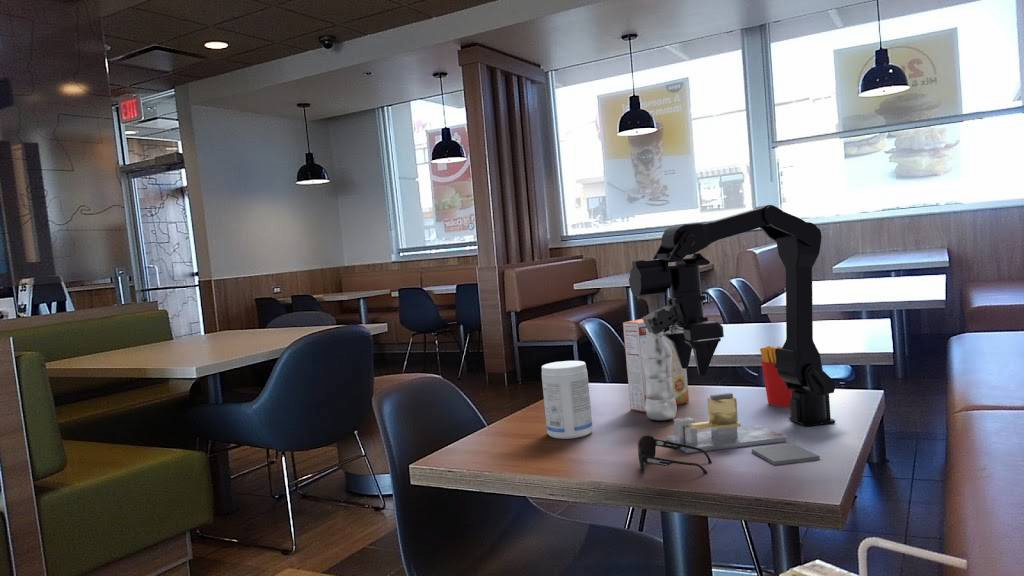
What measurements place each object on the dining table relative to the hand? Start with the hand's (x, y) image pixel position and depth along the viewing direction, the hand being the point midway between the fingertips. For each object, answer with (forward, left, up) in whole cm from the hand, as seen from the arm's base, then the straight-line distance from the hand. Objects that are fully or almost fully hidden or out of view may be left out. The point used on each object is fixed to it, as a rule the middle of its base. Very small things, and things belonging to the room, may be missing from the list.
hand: (693, 371), depth 136 cm
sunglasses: (+10, +15, -13) cm, 23 cm away
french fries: (-28, -19, -13) cm, 36 cm away
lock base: (-4, +4, -13) cm, 14 cm away
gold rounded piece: (-1, +4, -10) cm, 11 cm away
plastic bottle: (+1, -17, -13) cm, 22 cm away
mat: (-9, +17, -13) cm, 23 cm away
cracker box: (-3, -30, -13) cm, 33 cm away
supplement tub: (+22, -14, -13) cm, 30 cm away
